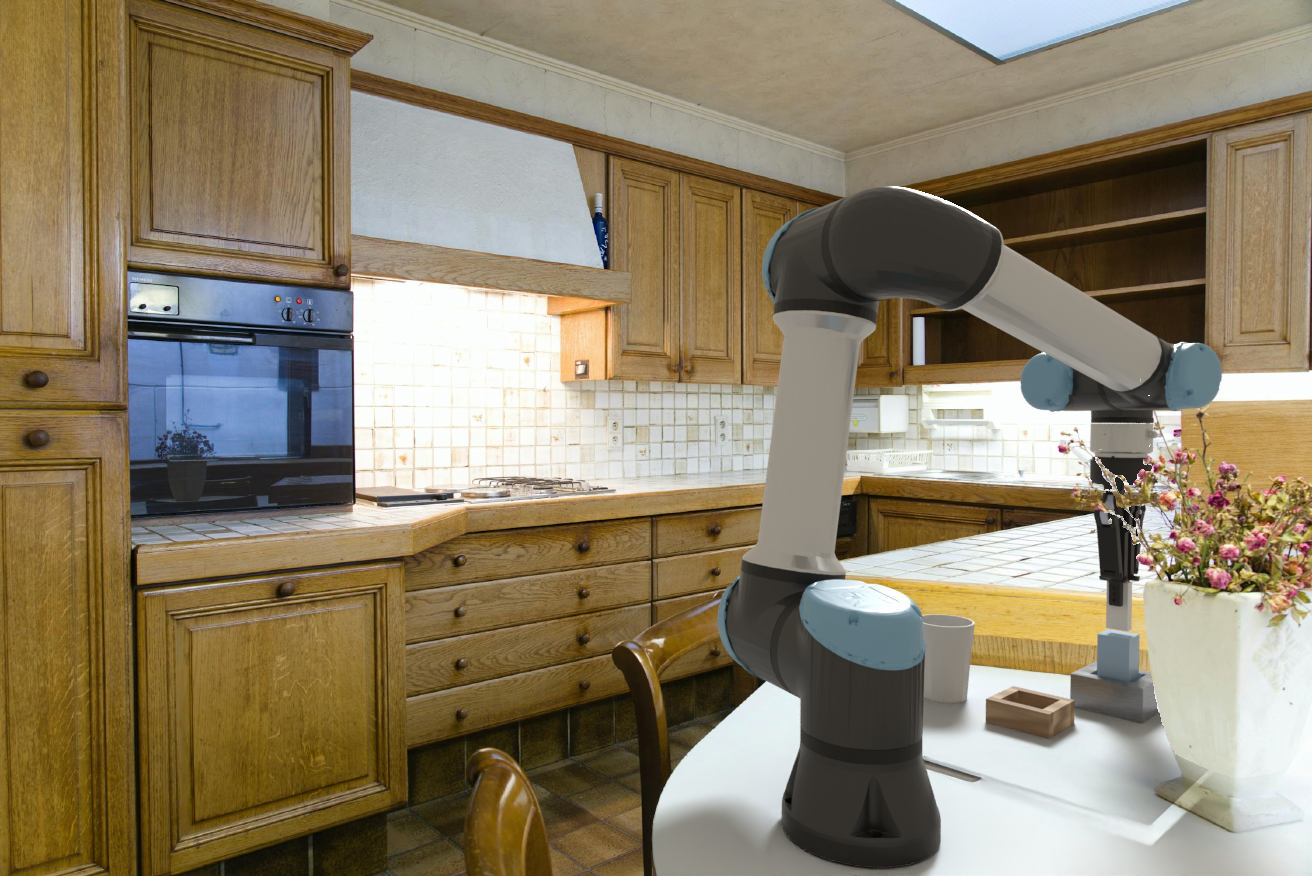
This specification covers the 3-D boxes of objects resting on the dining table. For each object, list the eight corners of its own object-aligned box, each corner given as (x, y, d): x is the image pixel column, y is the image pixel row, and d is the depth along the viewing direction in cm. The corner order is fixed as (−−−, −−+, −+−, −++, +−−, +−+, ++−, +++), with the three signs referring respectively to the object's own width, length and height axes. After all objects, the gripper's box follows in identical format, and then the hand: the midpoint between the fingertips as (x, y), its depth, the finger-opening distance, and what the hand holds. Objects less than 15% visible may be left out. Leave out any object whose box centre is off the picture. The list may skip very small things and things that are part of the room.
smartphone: (886, 730, 111) (1001, 761, 101) (886, 735, 111) (1001, 767, 101) (855, 745, 106) (973, 779, 95) (855, 751, 106) (973, 786, 95)
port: (1142, 727, 111) (1143, 688, 111) (1070, 709, 118) (1070, 673, 118) (1164, 711, 117) (1165, 674, 117) (1094, 695, 124) (1095, 661, 124)
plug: (1128, 714, 115) (1129, 639, 114) (1096, 706, 117) (1097, 633, 117) (1138, 707, 117) (1139, 634, 117) (1106, 700, 120) (1108, 629, 120)
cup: (982, 714, 118) (983, 627, 118) (923, 714, 118) (924, 626, 118) (962, 696, 126) (963, 614, 126) (907, 695, 126) (908, 613, 126)
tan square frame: (1048, 742, 105) (1049, 714, 105) (985, 725, 111) (985, 698, 111) (1074, 727, 111) (1074, 700, 111) (1012, 711, 117) (1013, 686, 117)
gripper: (1135, 457, 110) (1132, 642, 110) (1167, 455, 119) (1164, 626, 119) (1073, 455, 115) (1071, 631, 116) (1109, 453, 124) (1106, 616, 124)
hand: (1118, 628), depth 117 cm, fingers closed
